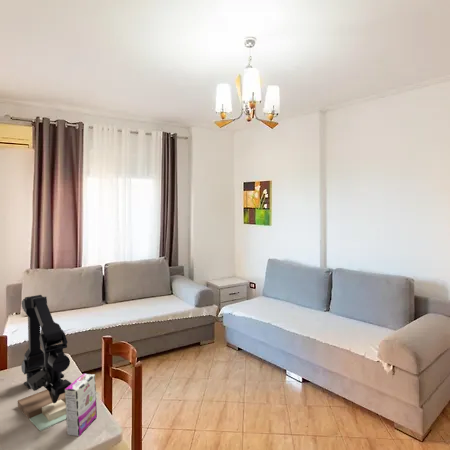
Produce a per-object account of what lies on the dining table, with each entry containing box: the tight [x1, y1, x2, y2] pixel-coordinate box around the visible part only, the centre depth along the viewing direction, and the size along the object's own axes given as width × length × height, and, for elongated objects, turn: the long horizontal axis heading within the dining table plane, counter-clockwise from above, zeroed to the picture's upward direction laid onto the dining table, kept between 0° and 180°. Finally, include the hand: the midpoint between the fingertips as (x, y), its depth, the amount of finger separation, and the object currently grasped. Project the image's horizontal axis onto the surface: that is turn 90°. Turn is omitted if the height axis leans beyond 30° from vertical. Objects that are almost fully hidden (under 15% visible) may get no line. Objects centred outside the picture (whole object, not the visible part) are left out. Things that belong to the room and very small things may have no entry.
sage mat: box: [29, 413, 66, 432], centre depth 131 cm, size 10×16×1 cm, turn 138°
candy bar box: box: [65, 373, 98, 437], centre depth 124 cm, size 11×5×16 cm, turn 168°
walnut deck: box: [17, 389, 65, 419], centre depth 138 cm, size 12×16×2 cm
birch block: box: [42, 400, 66, 421], centre depth 131 cm, size 7×7×2 cm
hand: (54, 402), depth 132 cm, fingers closed
